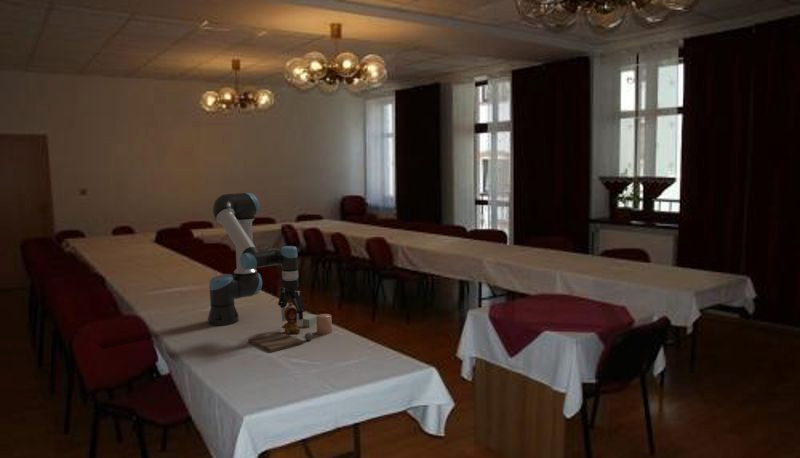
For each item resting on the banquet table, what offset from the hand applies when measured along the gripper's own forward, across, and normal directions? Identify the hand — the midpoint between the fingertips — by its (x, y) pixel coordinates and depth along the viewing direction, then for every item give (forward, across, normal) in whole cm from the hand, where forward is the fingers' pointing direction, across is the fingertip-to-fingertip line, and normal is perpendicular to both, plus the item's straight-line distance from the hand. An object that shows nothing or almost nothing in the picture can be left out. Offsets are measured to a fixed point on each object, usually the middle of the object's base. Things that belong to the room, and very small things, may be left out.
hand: (292, 323), depth 278 cm
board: (+4, +10, -15) cm, 18 cm away
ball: (+4, +17, -2) cm, 18 cm away
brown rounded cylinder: (+4, +12, +10) cm, 16 cm away
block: (+4, -5, +13) cm, 15 cm away
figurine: (+4, 0, 0) cm, 4 cm away
